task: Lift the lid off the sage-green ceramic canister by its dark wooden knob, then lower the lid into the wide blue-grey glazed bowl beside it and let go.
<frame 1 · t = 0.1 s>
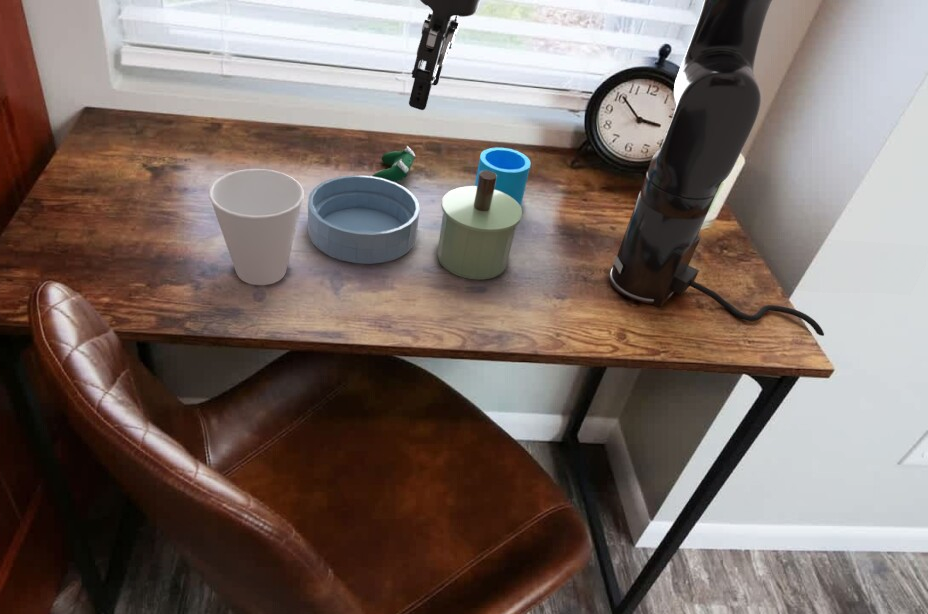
hand: (423, 94, 92), 22 cm above the table, tool pointing down, fingers open, 8 cm apart
gaming controller: (393, 176, 121), on the table
canister: (472, 258, 105), on the table
mug: (495, 199, 119), on the table
lid: (481, 209, 99), point 8 cm above the table, touching canister
cup: (261, 271, 97), on the table
bowl: (362, 234, 106), on the table
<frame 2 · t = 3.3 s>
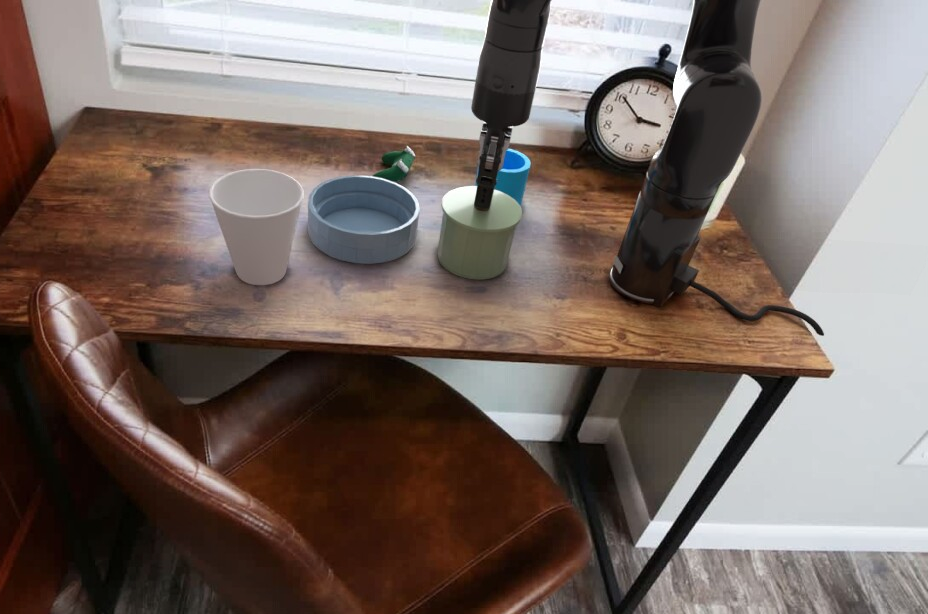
hand: (483, 200, 98), 10 cm above the table, tool pointing down, fingers closed on lid, 2 cm apart
lid: (481, 209, 99), point 8 cm above the table, touching canister, gripper
everything else where it was.
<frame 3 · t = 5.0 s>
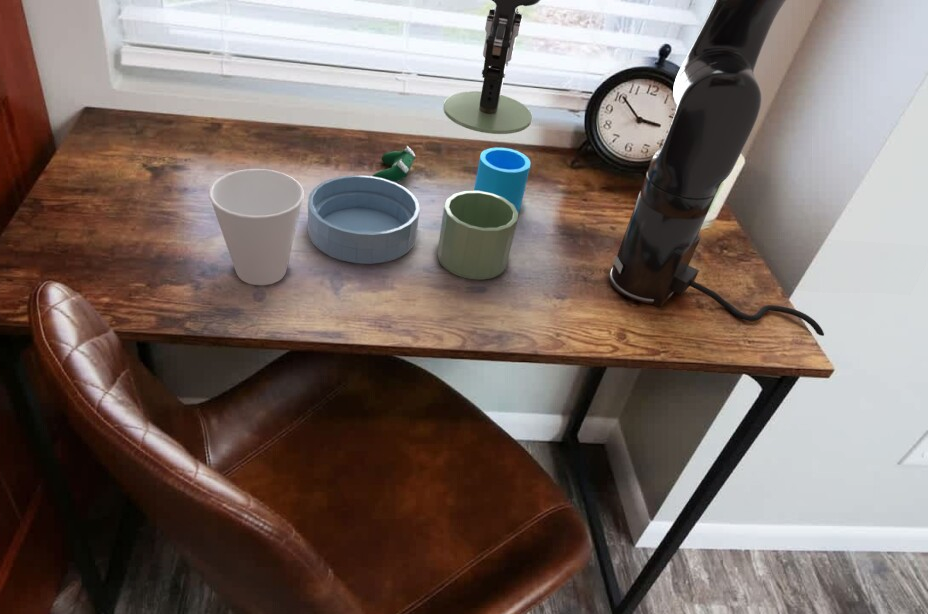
hand: (489, 102, 89), 24 cm above the table, tool pointing down, fingers closed on lid, 2 cm apart
lid: (487, 113, 90), point 22 cm above the table, touching gripper
everything else where it was.
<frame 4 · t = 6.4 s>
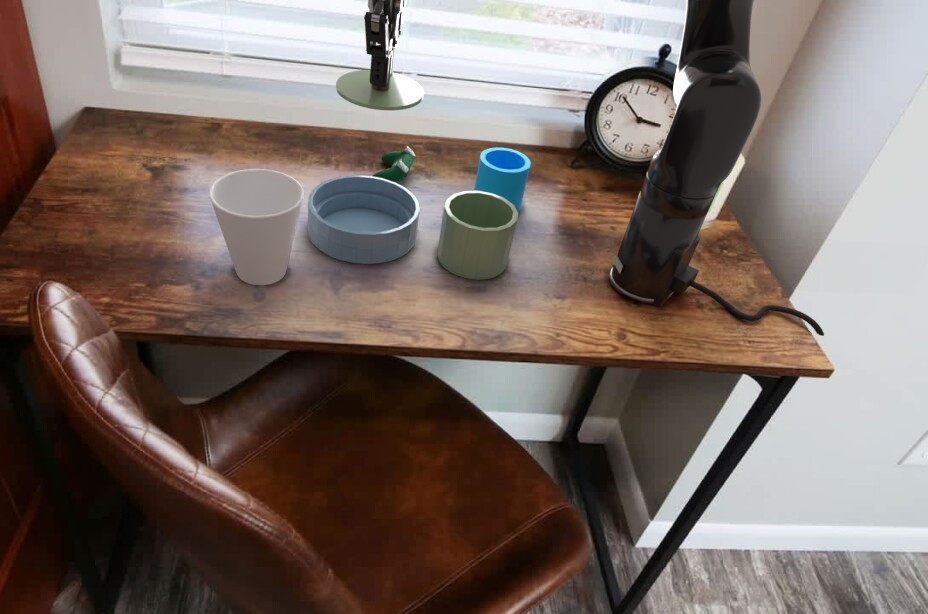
hand: (381, 79, 90), 24 cm above the table, tool pointing down, fingers closed on lid, 2 cm apart
lid: (380, 91, 91), point 23 cm above the table, touching gripper
everything else where it was.
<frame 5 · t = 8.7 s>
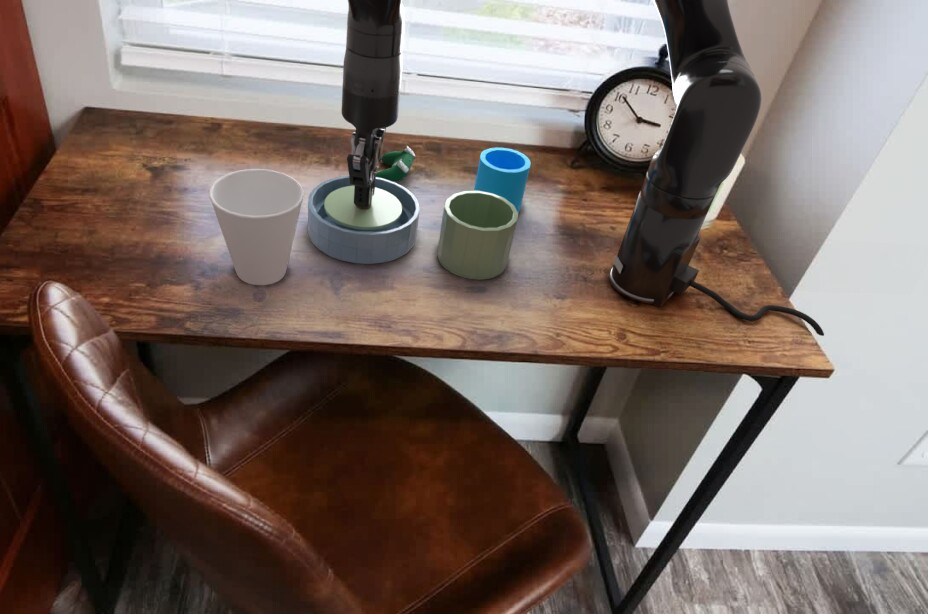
hand: (364, 199, 102), 6 cm above the table, tool pointing down, fingers closed on lid, 2 cm apart
lid: (363, 208, 103), point 5 cm above the table, touching gripper
everything else where it was.
when the fingers open (3 cm above the table, at t = 9.9 s): lid stays where it is, resting on bowl.
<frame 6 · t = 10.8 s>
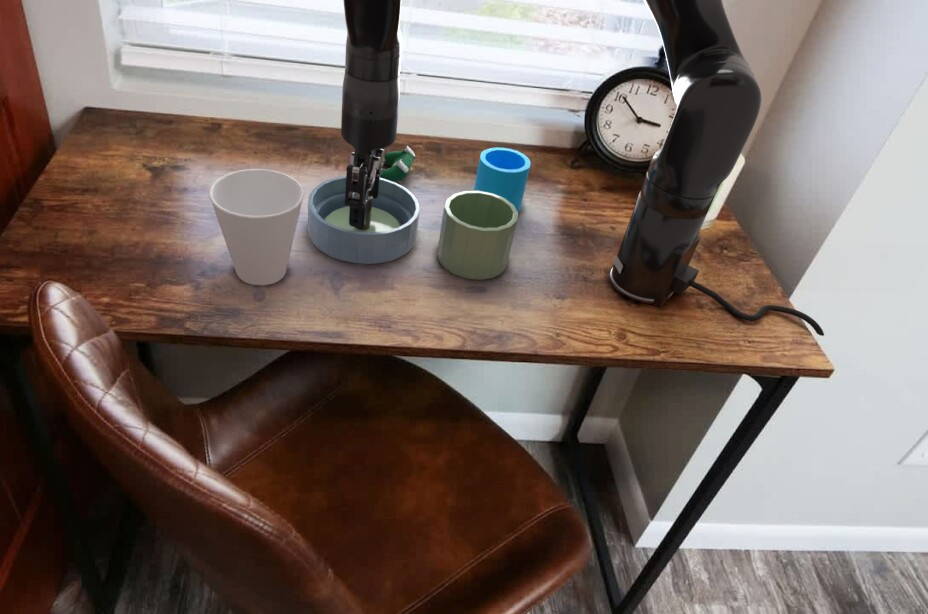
hand: (364, 210, 103), 4 cm above the table, tool pointing down, fingers open, 8 cm apart
lid: (362, 228, 106), point 1 cm above the table, touching bowl
everything else where it was.
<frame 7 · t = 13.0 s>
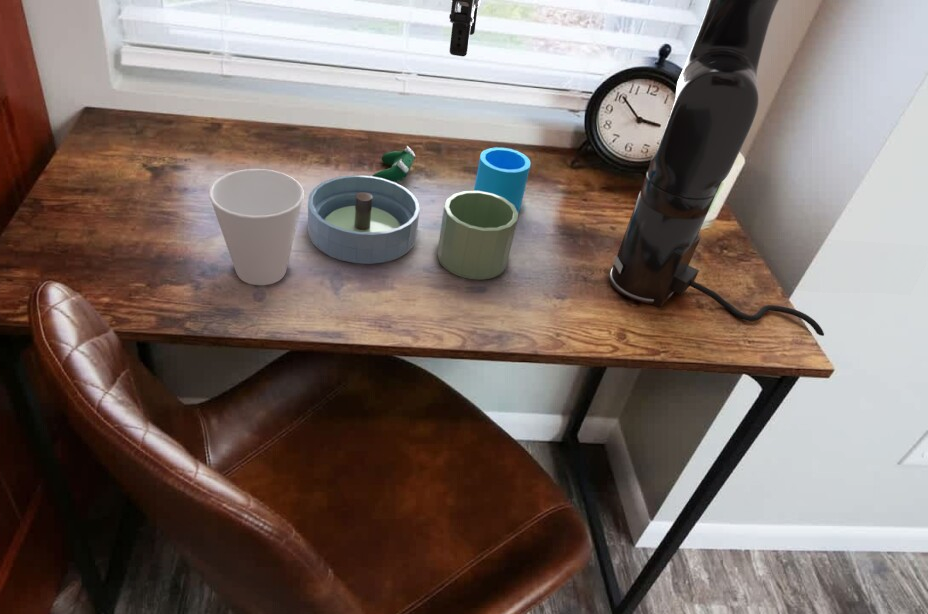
hand: (462, 43, 91), 28 cm above the table, tool pointing down, fingers open, 8 cm apart
nothing on the table moved.
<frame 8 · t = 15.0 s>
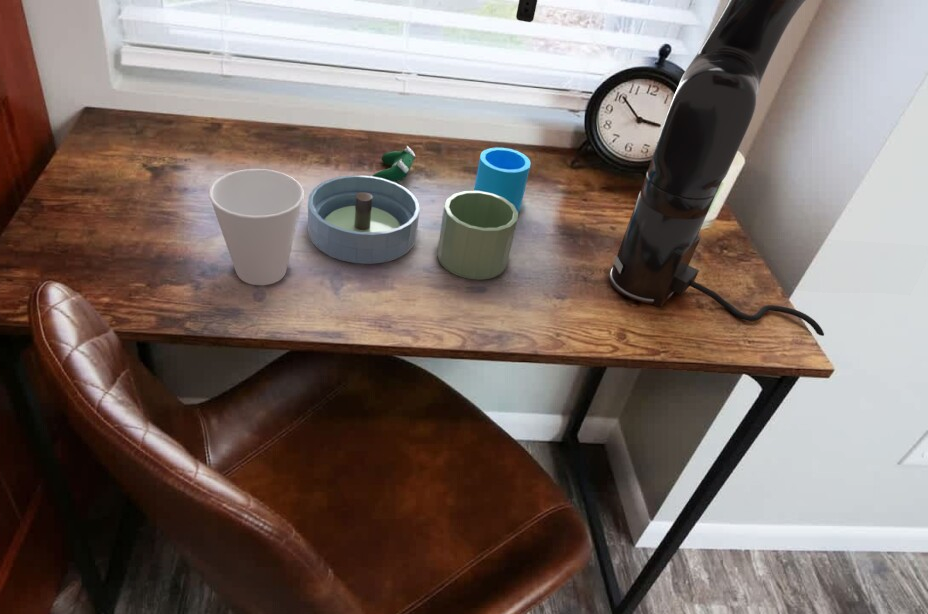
hand: (526, 10, 91), 32 cm above the table, tool pointing down, fingers open, 8 cm apart
nothing on the table moved.
at the end: lid 0.1 cm off-centre in the bowl, point 1.1 cm above the bowl's base; lid tilted 0°; the gripper is holding nothing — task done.
